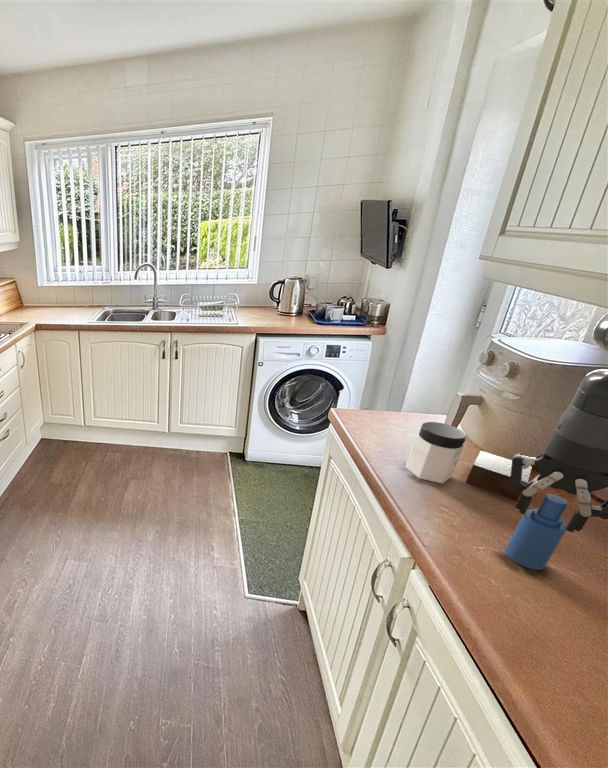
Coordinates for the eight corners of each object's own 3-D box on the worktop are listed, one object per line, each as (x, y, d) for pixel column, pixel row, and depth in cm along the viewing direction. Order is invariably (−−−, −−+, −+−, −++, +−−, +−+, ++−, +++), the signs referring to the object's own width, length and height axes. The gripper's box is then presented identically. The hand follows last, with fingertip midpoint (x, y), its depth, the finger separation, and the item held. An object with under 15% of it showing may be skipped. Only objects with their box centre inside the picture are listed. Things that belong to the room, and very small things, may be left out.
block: (523, 484, 94) (532, 466, 92) (518, 501, 88) (527, 482, 86) (473, 467, 100) (480, 450, 98) (465, 482, 95) (473, 464, 93)
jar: (439, 487, 93) (457, 443, 88) (400, 470, 99) (414, 427, 94) (455, 475, 97) (473, 432, 92) (416, 459, 103) (431, 418, 99)
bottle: (545, 559, 73) (580, 499, 68) (543, 574, 70) (579, 514, 65) (506, 543, 77) (536, 485, 72) (502, 557, 74) (533, 498, 68)
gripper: (663, 445, 61) (608, 532, 67) (529, 413, 71) (493, 491, 77) (667, 464, 56) (608, 555, 63) (524, 427, 66) (486, 509, 73)
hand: (545, 519), depth 70 cm, fingers closed on bottle, 5 cm apart
